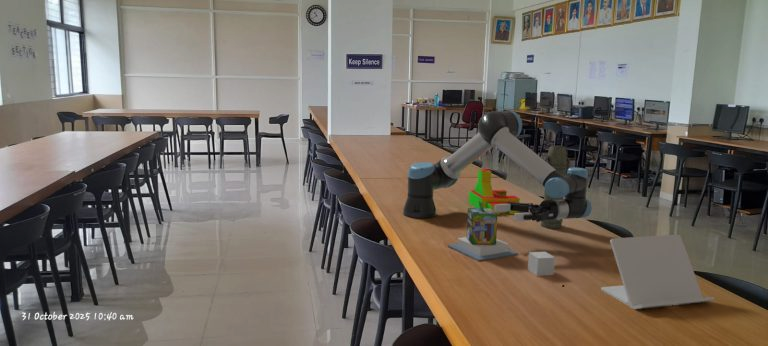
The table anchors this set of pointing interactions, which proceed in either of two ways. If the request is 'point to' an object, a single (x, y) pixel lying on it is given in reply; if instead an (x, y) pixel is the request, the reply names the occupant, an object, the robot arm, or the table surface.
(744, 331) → the table surface
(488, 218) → the chalk box
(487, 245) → the base block
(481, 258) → the board
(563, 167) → the dark piece
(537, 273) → the white cube
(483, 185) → the building blocks toy
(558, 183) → the robot arm
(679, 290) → the tablet stand
